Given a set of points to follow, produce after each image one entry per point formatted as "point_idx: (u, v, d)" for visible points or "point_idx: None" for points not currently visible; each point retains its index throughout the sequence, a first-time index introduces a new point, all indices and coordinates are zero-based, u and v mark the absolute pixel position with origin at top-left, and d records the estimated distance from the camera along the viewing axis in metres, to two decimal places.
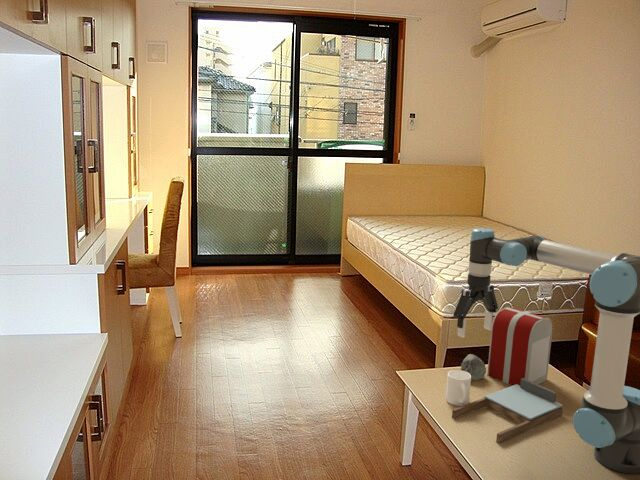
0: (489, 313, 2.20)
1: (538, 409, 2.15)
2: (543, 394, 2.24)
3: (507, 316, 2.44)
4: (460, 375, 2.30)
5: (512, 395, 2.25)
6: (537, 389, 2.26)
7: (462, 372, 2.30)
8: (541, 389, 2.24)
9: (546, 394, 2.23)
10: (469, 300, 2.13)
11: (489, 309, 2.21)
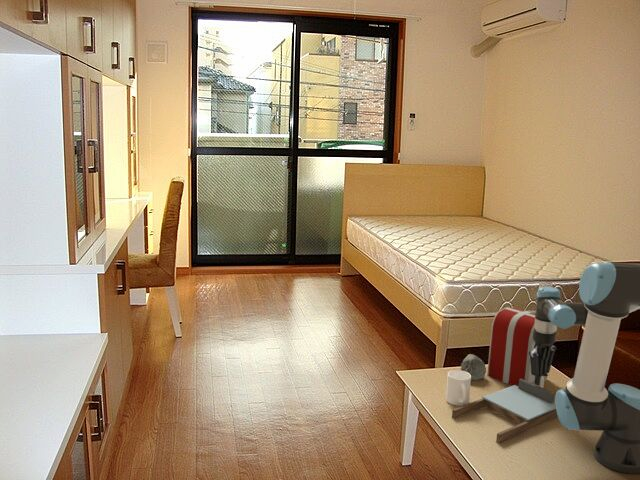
0: None
1: (536, 410, 2.15)
2: (541, 395, 2.23)
3: (507, 316, 2.44)
4: (460, 375, 2.30)
5: (511, 396, 2.25)
6: (535, 390, 2.25)
7: (462, 372, 2.30)
8: (539, 390, 2.24)
9: (544, 394, 2.22)
10: (539, 358, 2.22)
11: None
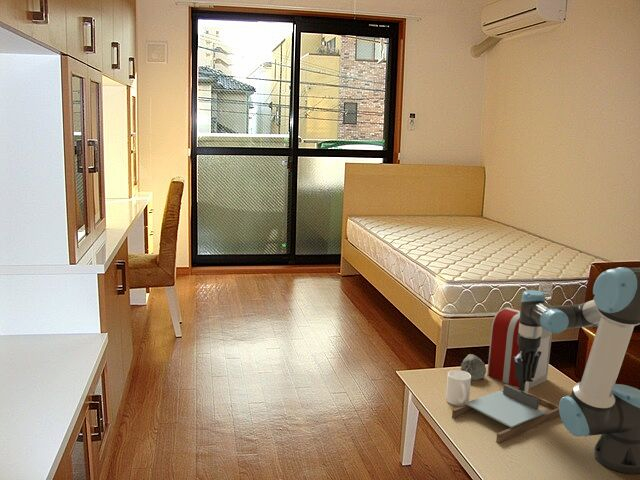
0: None
1: (520, 416, 2.10)
2: (526, 401, 2.18)
3: (507, 316, 2.44)
4: (460, 375, 2.30)
5: (495, 402, 2.20)
6: (520, 396, 2.20)
7: (462, 372, 2.30)
8: (524, 396, 2.19)
9: (529, 400, 2.17)
10: (523, 363, 2.17)
11: None
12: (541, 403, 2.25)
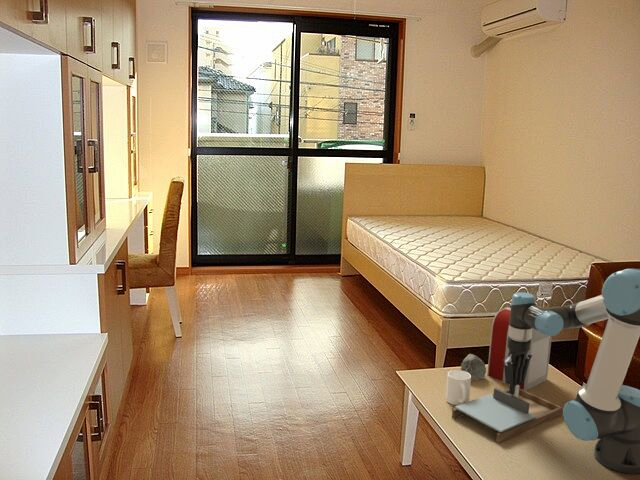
0: None
1: (510, 421, 2.07)
2: (516, 405, 2.15)
3: (507, 316, 2.44)
4: (460, 375, 2.30)
5: (484, 406, 2.17)
6: (510, 400, 2.17)
7: (462, 372, 2.30)
8: (514, 399, 2.15)
9: (519, 404, 2.14)
10: (513, 366, 2.14)
11: None
12: (541, 403, 2.25)
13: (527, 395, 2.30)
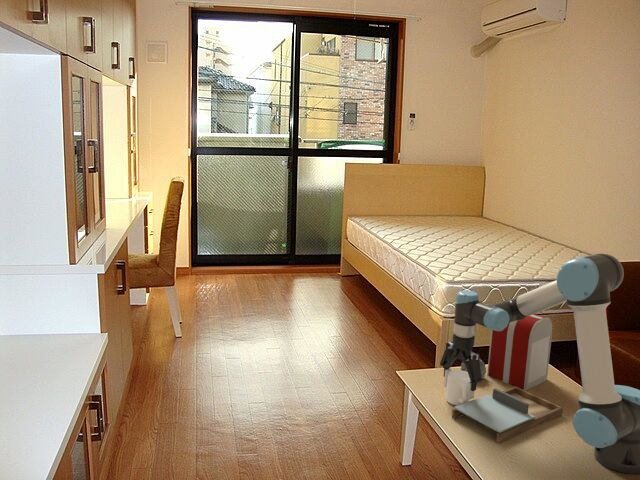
0: None
1: (509, 421, 2.07)
2: (515, 405, 2.15)
3: None
4: (461, 375, 2.30)
5: (484, 406, 2.17)
6: (509, 400, 2.17)
7: (462, 372, 2.30)
8: (513, 400, 2.15)
9: (518, 405, 2.14)
10: None
11: None
12: (541, 403, 2.25)
13: (527, 395, 2.30)
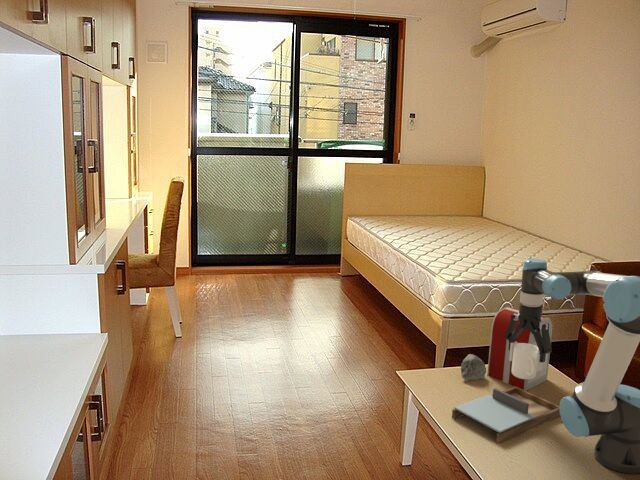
0: None
1: (509, 421, 2.07)
2: (515, 405, 2.15)
3: (507, 316, 2.44)
4: (526, 349, 2.23)
5: (484, 406, 2.17)
6: (509, 400, 2.17)
7: (528, 345, 2.22)
8: (513, 400, 2.15)
9: (518, 405, 2.14)
10: None
11: None
12: (541, 403, 2.25)
13: (527, 395, 2.30)
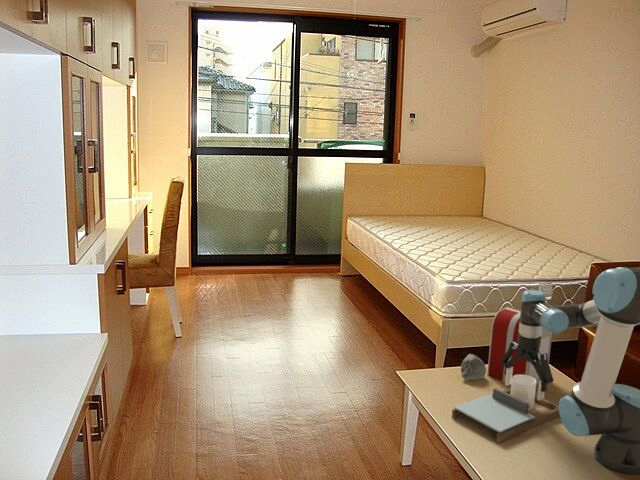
0: None
1: (509, 421, 2.07)
2: (515, 405, 2.15)
3: (507, 316, 2.44)
4: (525, 380, 2.25)
5: (484, 406, 2.17)
6: (509, 400, 2.17)
7: (526, 377, 2.25)
8: (513, 400, 2.15)
9: (518, 405, 2.14)
10: None
11: None
12: (541, 403, 2.25)
13: None
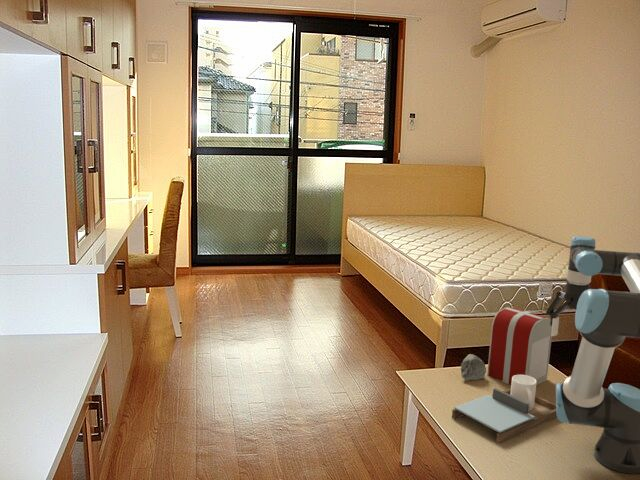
0: None
1: (509, 421, 2.07)
2: (515, 405, 2.15)
3: (507, 316, 2.44)
4: (525, 380, 2.25)
5: (484, 406, 2.17)
6: (509, 400, 2.17)
7: (526, 377, 2.25)
8: (513, 400, 2.15)
9: (518, 405, 2.14)
10: None
11: None
12: (541, 403, 2.25)
13: None
